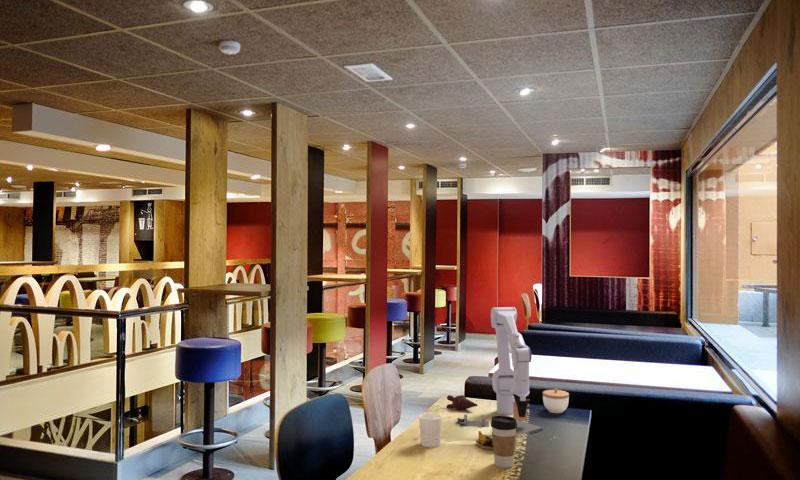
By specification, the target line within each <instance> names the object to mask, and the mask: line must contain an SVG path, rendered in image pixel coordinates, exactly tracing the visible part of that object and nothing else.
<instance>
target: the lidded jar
mask: <svg viewBox="0 0 800 480" xmlns="http://www.w3.org/2000/svg"><path fill="white" fill-rule="evenodd" d="M569 399H570V393H569V392H567V391H565V390H561V389H558V388H554V389H546V390H543V391H542V401H543V402H542V403H543V405H544V407H545V408H546V410H547V411H548V412H549V413H551V414H563V413H564V411H565V410H566V409H567V408H568V406H569V403H570V402H569V401H570V400H569Z"/></svg>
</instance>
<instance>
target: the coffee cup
mask: <svg viewBox="0 0 800 480" xmlns="http://www.w3.org/2000/svg"><path fill="white" fill-rule="evenodd" d="M490 421H491V422H490V427H491V431H492V432H491V435H492V440H493V450H492V451H493V457H494V459H493V461H494V465H495V466H496V467H497V466H498V468H501V467H502V468H501V469H509V468H512V467H514V459H515V449H516V441H517V440H516V438H517V431H516V428H517V421H516V419H515V418H513V416H509V415H493V416H492V417H491V420H490Z"/></svg>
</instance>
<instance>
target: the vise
mask: <svg viewBox="0 0 800 480" xmlns="http://www.w3.org/2000/svg"><path fill="white" fill-rule="evenodd" d="M456 420H457V421H456V422H457V423H458V424H459V423H460V424H459V426H460V427H480V428H482V427H483V428H484V427H485V428H489V427H490V421H489V420H487V421H486V415H485V414H481V420H468V414H464V415H463V418H460V417H457V419H456Z"/></svg>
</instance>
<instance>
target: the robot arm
mask: <svg viewBox="0 0 800 480" xmlns="http://www.w3.org/2000/svg"><path fill="white" fill-rule="evenodd" d="M517 318H518V311H517V308H516V307H515V306H505V307H503V306H502V307H500V306H497V307H496V306H493V307H492V308H491V309H490V324H491V328H493V329H494V330H495V336H496V350H497V359H498V360H497V361H498V369H496V370H495V371H494V372H493V374H492V381H491V383H492V384H491V386H492V389H493V391H494V393H496V413H497V414H499V415H502V416H509V415H513V402H516V404H517V408H518V414H519V417H525V415H526V409H527V410H528V405H529V404H530V401H531V399H530V398H529V394H530V363H531V361H532V358H533V357H532V351H531V348H530V346H528V345H526V343H525V340H524V337H523V335H522V334H521V333H520V332H518V329H517V325H516V322H517ZM510 350H511V352H510ZM510 353H511V357H510ZM511 362H512V363H511ZM511 364H512V368H513V369H512V368H511Z"/></svg>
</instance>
